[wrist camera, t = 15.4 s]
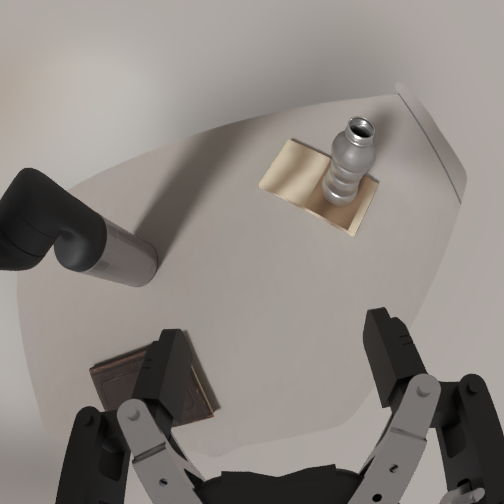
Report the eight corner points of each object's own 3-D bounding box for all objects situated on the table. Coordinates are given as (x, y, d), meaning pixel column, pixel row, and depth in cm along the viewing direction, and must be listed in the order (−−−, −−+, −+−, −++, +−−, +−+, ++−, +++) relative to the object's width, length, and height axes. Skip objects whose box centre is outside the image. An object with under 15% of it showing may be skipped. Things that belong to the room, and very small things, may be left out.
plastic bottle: (347, 174, 50) (372, 105, 31) (358, 206, 48) (394, 146, 29) (316, 180, 50) (328, 110, 31) (326, 213, 49) (347, 152, 29)
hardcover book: (216, 413, 44) (213, 416, 42) (122, 434, 45) (117, 437, 42) (182, 335, 49) (177, 335, 46) (94, 367, 49) (88, 368, 47)
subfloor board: (259, 186, 53) (258, 183, 51) (288, 142, 54) (288, 138, 53) (353, 236, 48) (355, 234, 47) (376, 186, 50) (378, 183, 49)
